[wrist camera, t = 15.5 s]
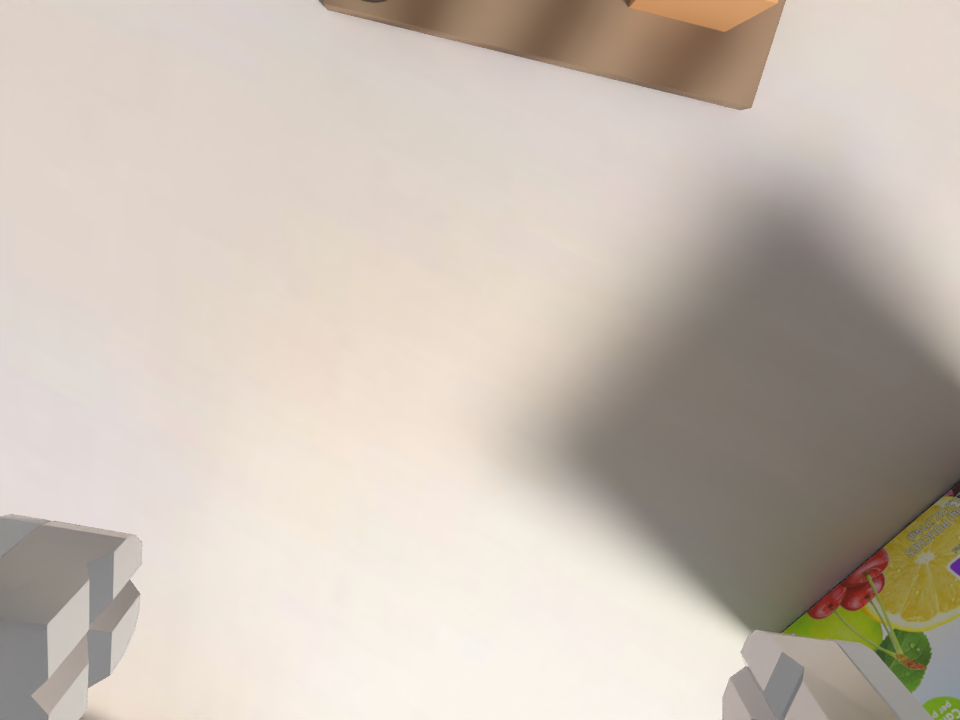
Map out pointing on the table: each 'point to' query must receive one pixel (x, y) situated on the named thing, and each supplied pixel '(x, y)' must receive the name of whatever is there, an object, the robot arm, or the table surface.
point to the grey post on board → (598, 40)
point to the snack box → (905, 608)
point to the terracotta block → (705, 11)
